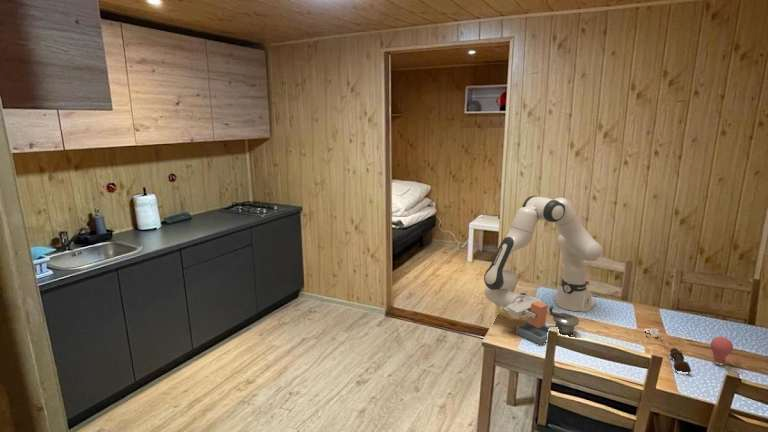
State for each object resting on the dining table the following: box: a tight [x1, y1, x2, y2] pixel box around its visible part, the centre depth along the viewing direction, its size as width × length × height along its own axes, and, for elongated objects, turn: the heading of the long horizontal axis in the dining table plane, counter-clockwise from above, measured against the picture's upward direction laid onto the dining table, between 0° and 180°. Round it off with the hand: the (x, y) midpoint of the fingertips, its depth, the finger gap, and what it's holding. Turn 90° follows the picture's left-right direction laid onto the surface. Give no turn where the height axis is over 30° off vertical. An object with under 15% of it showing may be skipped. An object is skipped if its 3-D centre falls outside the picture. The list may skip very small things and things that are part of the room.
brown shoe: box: [669, 347, 692, 374], centre depth 170 cm, size 6×5×15 cm
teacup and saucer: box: [643, 327, 660, 338], centre depth 193 cm, size 9×8×4 cm
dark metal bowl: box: [548, 305, 580, 337], centre depth 194 cm, size 13×11×11 cm
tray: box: [515, 321, 551, 346], centre depth 190 cm, size 13×13×4 cm
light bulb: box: [710, 336, 734, 363], centre depth 170 cm, size 7×7×12 cm
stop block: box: [528, 301, 548, 328], centre depth 188 cm, size 5×5×10 cm
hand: (540, 314), depth 187 cm, fingers closed on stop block, 5 cm apart
